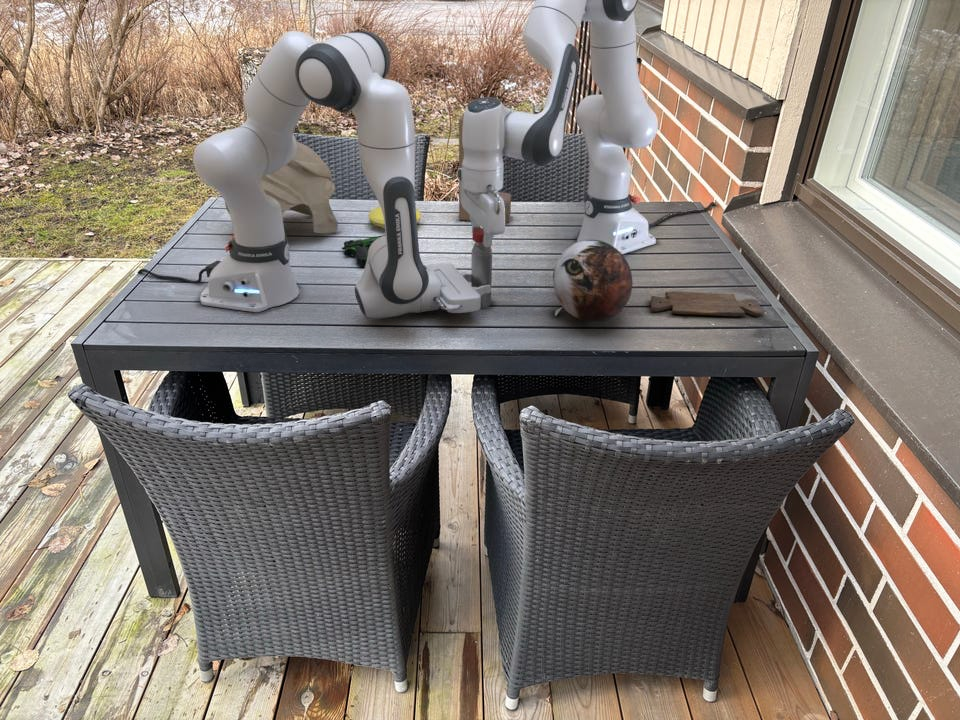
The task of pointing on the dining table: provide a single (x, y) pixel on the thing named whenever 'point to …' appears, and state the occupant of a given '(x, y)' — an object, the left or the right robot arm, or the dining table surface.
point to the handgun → (358, 249)
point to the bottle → (482, 270)
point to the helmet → (304, 188)
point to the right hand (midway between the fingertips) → (481, 240)
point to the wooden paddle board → (705, 304)
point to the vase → (378, 218)
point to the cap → (478, 235)
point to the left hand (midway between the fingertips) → (484, 282)
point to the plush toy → (592, 281)
